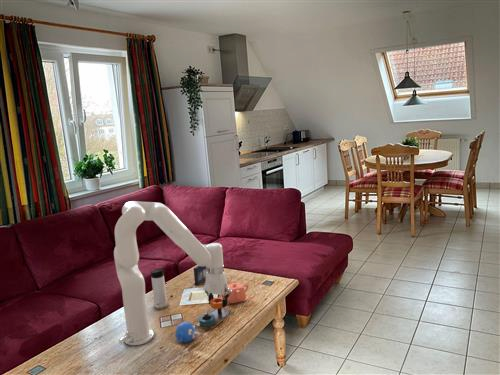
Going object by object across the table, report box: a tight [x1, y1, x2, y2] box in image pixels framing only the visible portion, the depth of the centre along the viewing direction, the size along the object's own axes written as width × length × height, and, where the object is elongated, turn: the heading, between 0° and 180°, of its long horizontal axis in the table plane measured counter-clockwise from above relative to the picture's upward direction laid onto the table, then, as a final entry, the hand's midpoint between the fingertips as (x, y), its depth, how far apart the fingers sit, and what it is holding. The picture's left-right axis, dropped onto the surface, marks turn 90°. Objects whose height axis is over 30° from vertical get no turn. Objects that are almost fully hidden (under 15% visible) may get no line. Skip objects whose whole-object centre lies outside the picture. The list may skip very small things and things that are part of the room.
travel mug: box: [150, 268, 168, 310], centre depth 213 cm, size 6×7×20 cm
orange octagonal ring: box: [209, 296, 224, 310], centre depth 201 cm, size 7×7×2 cm
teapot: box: [224, 282, 250, 304], centre depth 215 cm, size 12×12×10 cm
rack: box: [195, 308, 232, 329], centre depth 197 cm, size 18×8×6 cm, turn 149°
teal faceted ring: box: [198, 313, 217, 328], centre depth 193 cm, size 7×7×2 cm
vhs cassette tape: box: [193, 265, 208, 286], centre depth 246 cm, size 18×3×10 cm, turn 147°
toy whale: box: [174, 321, 203, 344], centre depth 179 cm, size 12×12×8 cm
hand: (218, 304), depth 201 cm, fingers closed on orange octagonal ring, 7 cm apart
